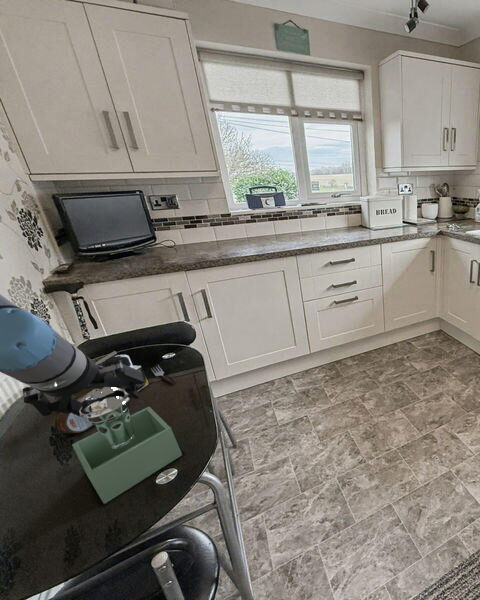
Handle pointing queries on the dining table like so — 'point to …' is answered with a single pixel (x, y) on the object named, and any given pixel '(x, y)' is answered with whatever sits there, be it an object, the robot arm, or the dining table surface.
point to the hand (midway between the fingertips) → (110, 401)
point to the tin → (73, 421)
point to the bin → (128, 455)
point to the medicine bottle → (127, 361)
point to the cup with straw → (109, 413)
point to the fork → (161, 374)
